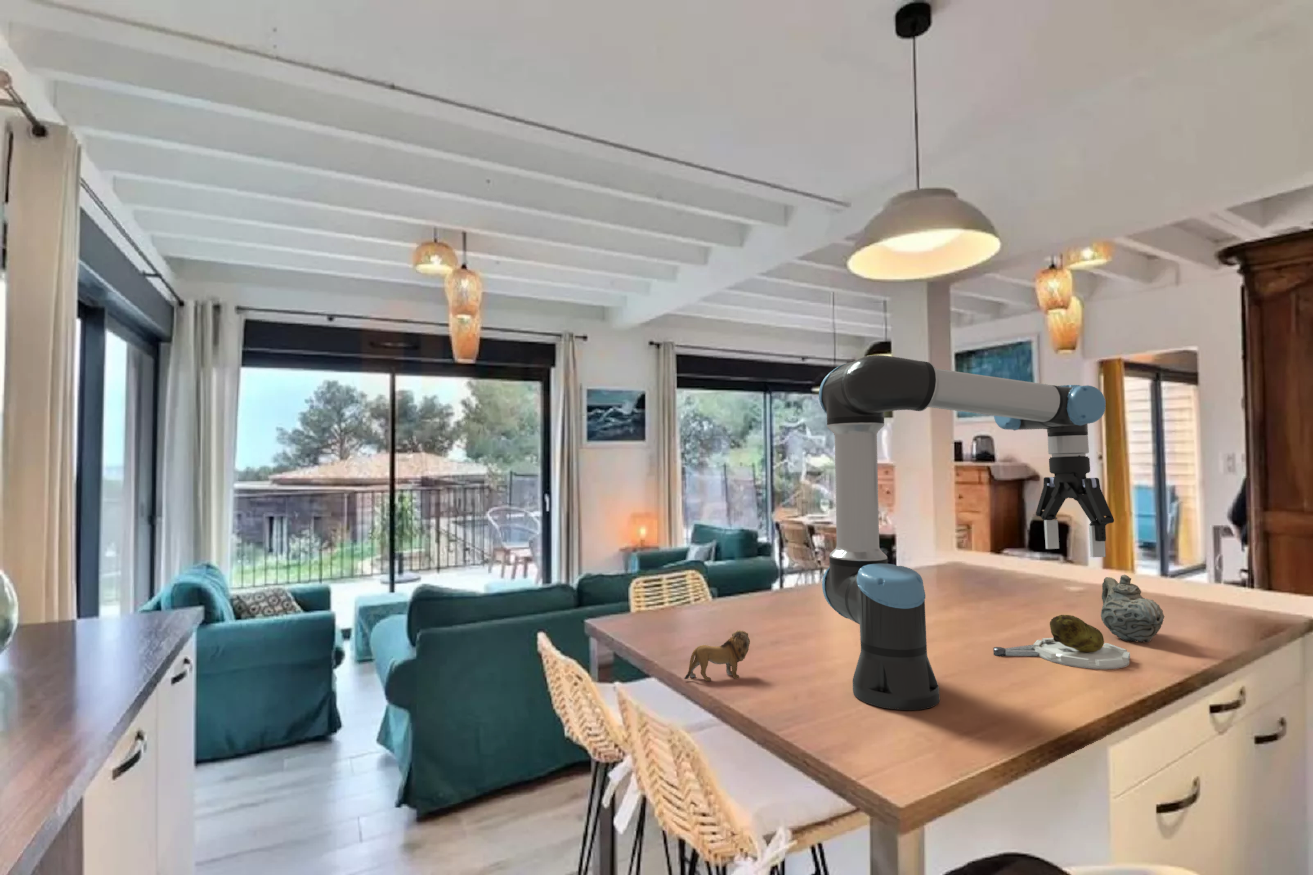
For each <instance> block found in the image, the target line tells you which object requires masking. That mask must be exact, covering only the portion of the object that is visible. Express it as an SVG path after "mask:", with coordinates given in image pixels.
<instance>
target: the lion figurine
mask: <svg viewBox="0 0 1313 875" xmlns="http://www.w3.org/2000/svg"><path fill="white" fill-rule="evenodd" d="M749 637H750V636H749V632H746V631H744V630H741V629H740V630H739V629H738V630H736V631H734V632H733V633H731V637H729V638H728V639H727V640H726V641H725V642H724V643H723V644H721V645H718V646H717V645H715V646H711V645H709V644H707V645H706V644H701V645H699V646H697V647H695V648H694V649H693V651H692V653H691V655H690V659H689V666H688V670H687V673H686V675H685V677H684V680H686V679H687V680H688V679H689V677H690V678H696V676H697V674H696V673H694V670H695V669H696V668H697V667H698V666H700V675H701V676H702V678H703V680H704V681H706V682H711V681H712V678H711V677H709V676H708V675H707V673H706V671H707V668H708V666H709V662H710V663H712V664H714V665H725V668H726V669H725V671H726V672H725V673H726V675H727V676H732V677H733V679H737V680H738V679H740V675H738V674H737V671H738V663H739V662H742V661H744V660H745V658H746V656H747V654H748V652H749V650H750V649H749V648H750V644H751V640H750V638H749Z"/></svg>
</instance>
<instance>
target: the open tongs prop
mask: <svg viewBox="0 0 1313 875" xmlns="http://www.w3.org/2000/svg"><path fill="white" fill-rule="evenodd" d="M1042 643H1043V644H1046V643H1048V644H1047V645H1052V644H1056V643H1053V642H1052V643H1051V642H1050V644H1049V642H1043V641H1042ZM1060 649H1061V648H1060ZM1060 649H1059V650H1060ZM1062 650H1064V648H1062V649H1061V651H1062ZM1065 650H1067V649H1066V648H1065ZM992 651H993V656H996V657H1039V653H1038V652H1037V651H1035V649H1033V644H1028V645H1021V646H1014V647H1013V646H1012V647H1001V646H994V647H992ZM1067 651H1068V650H1067ZM1071 651H1073V650H1071V649H1069V652H1071ZM1063 652H1065V651H1063Z"/></svg>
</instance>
